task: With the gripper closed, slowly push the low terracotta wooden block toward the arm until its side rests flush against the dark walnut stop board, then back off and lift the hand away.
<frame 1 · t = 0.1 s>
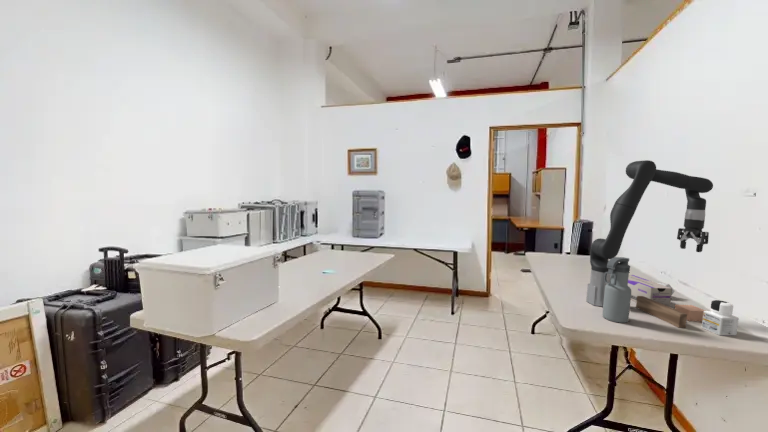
hand: (690, 250, 173), 29 cm above the table, tool pointing down, fingers open, 8 cm apart
water bottle: (614, 319, 154), on the table
surgical sutures box: (639, 300, 183), on the table
die: (662, 297, 190), on the table
block: (689, 318, 159), on the table
stop board: (658, 316, 159), on the table
container: (718, 332, 144), on the table
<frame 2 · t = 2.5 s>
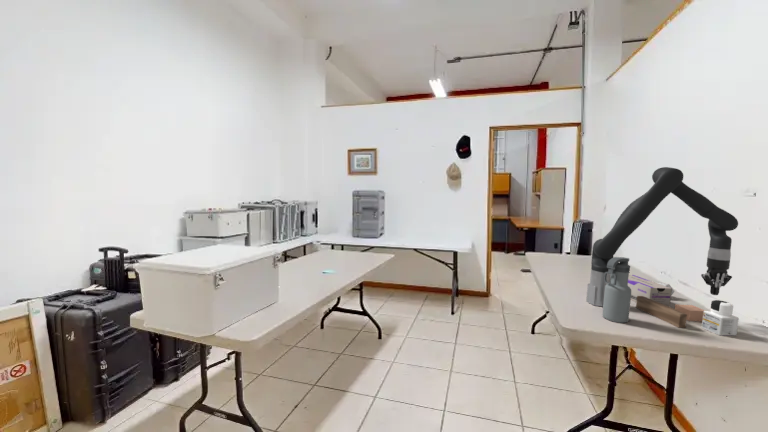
hand: (714, 294, 158), 11 cm above the table, tool pointing down, fingers closed
nothing on the table moved.
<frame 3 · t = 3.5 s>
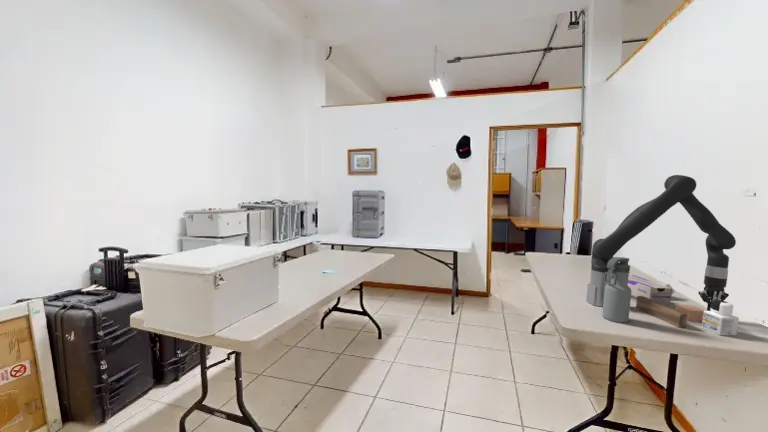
hand: (711, 312, 159), 3 cm above the table, tool pointing down, fingers closed
nothing on the table moved.
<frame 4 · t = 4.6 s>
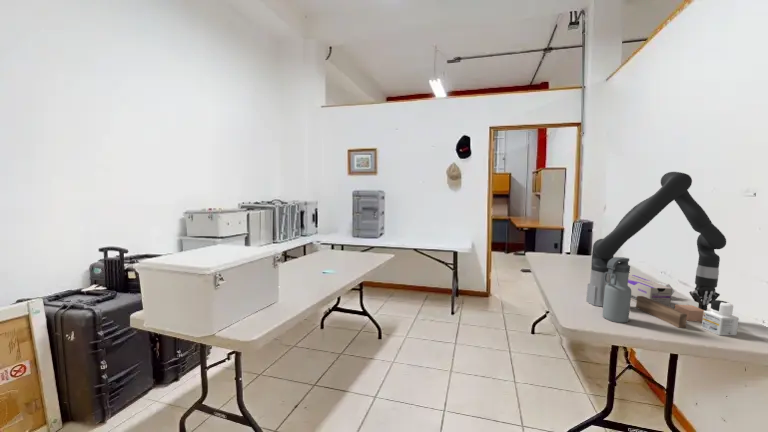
hand: (702, 311, 159), 3 cm above the table, tool pointing down, fingers closed
block: (689, 318, 159), on the table, touching gripper
everything else where it was.
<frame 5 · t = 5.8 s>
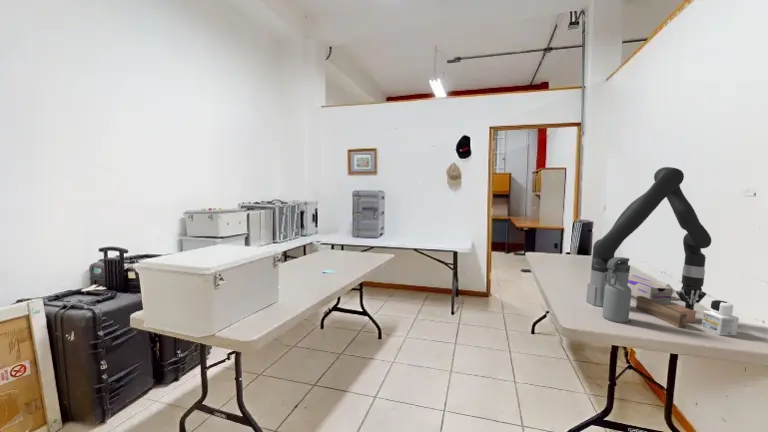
hand: (689, 311, 159), 3 cm above the table, tool pointing down, fingers closed
block: (678, 318, 158), on the table
everything else where it was.
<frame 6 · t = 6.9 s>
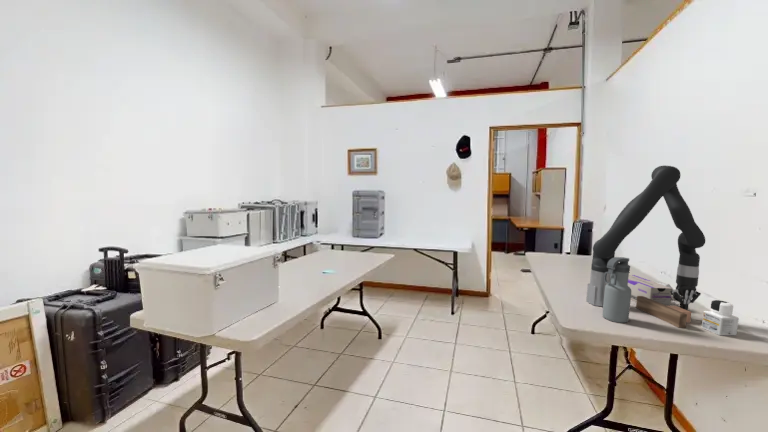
hand: (683, 311, 159), 3 cm above the table, tool pointing down, fingers closed
block: (673, 319, 157), on the table, touching gripper
everything else where it was.
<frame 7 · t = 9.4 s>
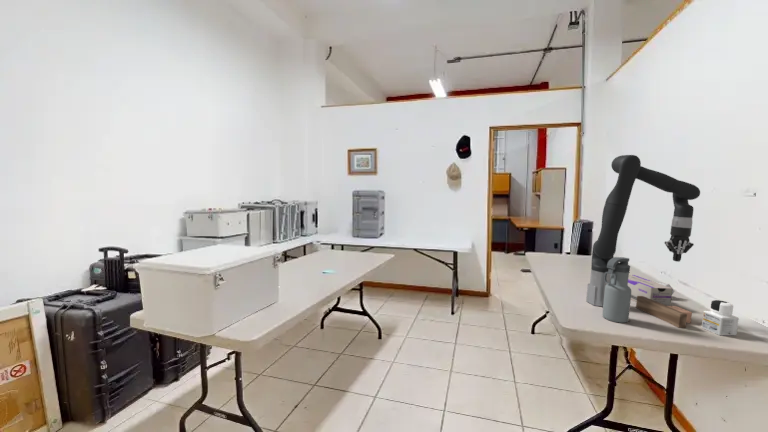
hand: (676, 261, 167), 25 cm above the table, tool pointing down, fingers closed
block: (674, 319, 157), on the table
everything else where it was.
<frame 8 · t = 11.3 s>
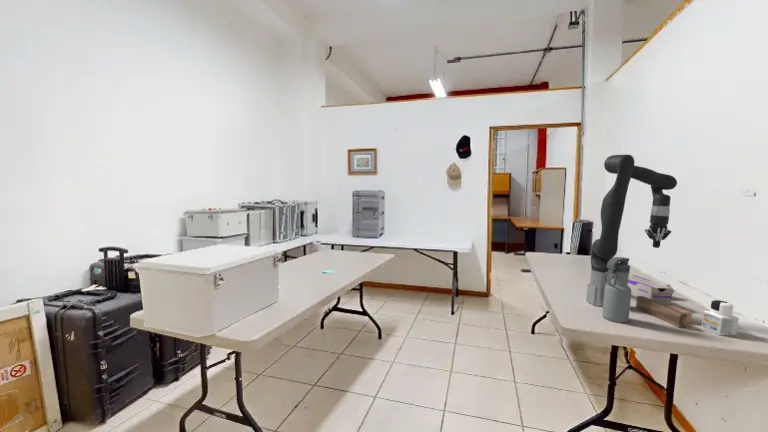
hand: (656, 247, 178), 29 cm above the table, tool pointing down, fingers closed
nothing on the table moved.
at the end: block 2.2 cm from the target spot on the table beside the stop board, on the table; block tilted 0° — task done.
